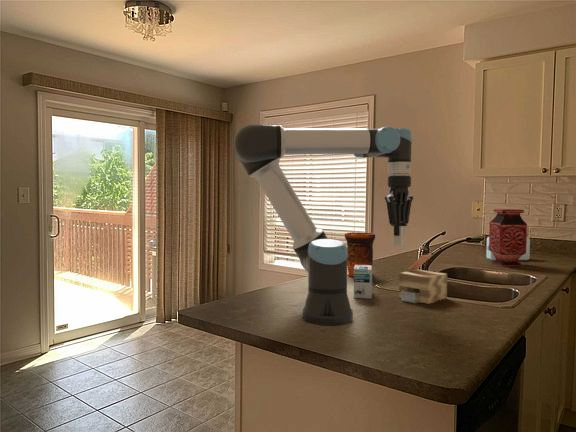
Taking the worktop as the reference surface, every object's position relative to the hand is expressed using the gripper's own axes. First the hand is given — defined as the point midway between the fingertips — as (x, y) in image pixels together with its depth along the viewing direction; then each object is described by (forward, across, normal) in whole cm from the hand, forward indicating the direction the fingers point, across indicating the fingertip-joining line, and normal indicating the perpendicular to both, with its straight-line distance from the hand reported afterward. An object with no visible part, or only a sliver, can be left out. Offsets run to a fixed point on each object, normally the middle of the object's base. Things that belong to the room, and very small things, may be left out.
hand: (398, 245), depth 145 cm
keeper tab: (+8, +17, +3) cm, 19 cm away
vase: (+21, +116, +13) cm, 118 cm away
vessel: (+21, +33, +45) cm, 59 cm away
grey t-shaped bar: (+20, +14, 0) cm, 25 cm away
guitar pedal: (+21, +138, +22) cm, 141 cm away
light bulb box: (+21, +2, +17) cm, 27 cm away
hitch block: (+20, +15, 0) cm, 25 cm away
